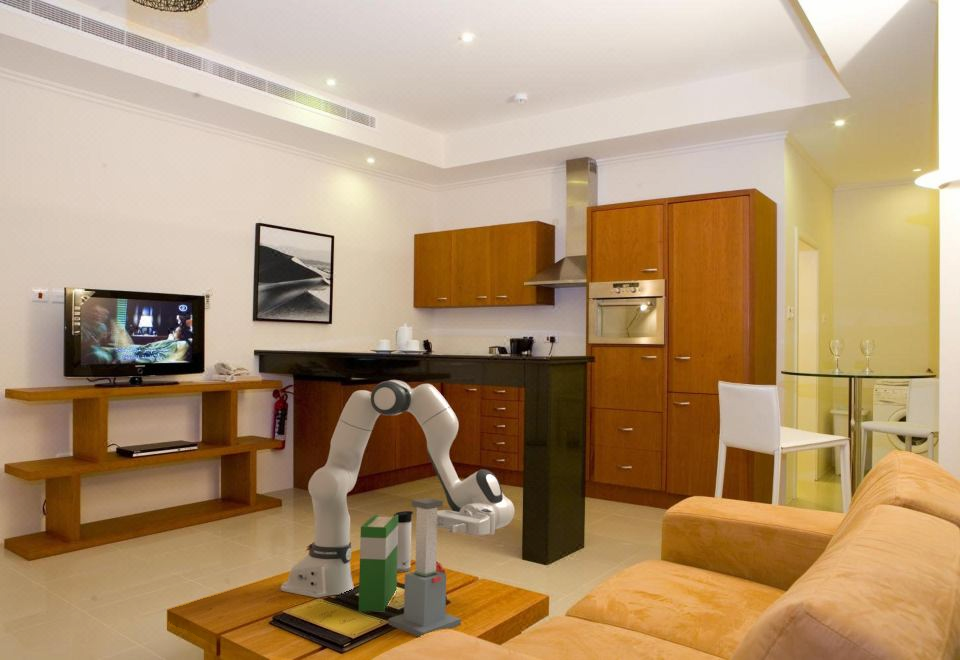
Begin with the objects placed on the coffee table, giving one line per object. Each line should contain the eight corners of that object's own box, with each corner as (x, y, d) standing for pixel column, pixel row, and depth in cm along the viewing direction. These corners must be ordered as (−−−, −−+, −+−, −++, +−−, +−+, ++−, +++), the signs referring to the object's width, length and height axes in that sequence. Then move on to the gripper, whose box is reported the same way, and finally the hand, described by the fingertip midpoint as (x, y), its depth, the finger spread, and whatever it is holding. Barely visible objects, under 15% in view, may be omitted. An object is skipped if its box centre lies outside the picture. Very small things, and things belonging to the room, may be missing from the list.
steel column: (409, 595, 188) (411, 500, 189) (425, 590, 192) (427, 497, 194) (424, 600, 184) (426, 503, 185) (440, 595, 188) (442, 500, 190)
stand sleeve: (388, 624, 187) (389, 573, 188) (425, 611, 197) (426, 563, 198) (423, 638, 178) (424, 585, 178) (460, 624, 188) (461, 574, 189)
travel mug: (408, 573, 234) (409, 513, 235) (389, 571, 236) (391, 512, 237) (413, 567, 240) (414, 510, 242) (395, 566, 242) (397, 508, 243)
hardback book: (373, 592, 214) (375, 514, 215) (396, 593, 213) (398, 514, 215) (358, 611, 196) (360, 526, 198) (383, 613, 196) (386, 527, 197)
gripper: (448, 503, 210) (414, 509, 200) (498, 513, 196) (465, 520, 186) (447, 524, 210) (414, 531, 199) (498, 535, 196) (465, 544, 186)
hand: (439, 526), depth 193 cm, fingers open, 8 cm apart
